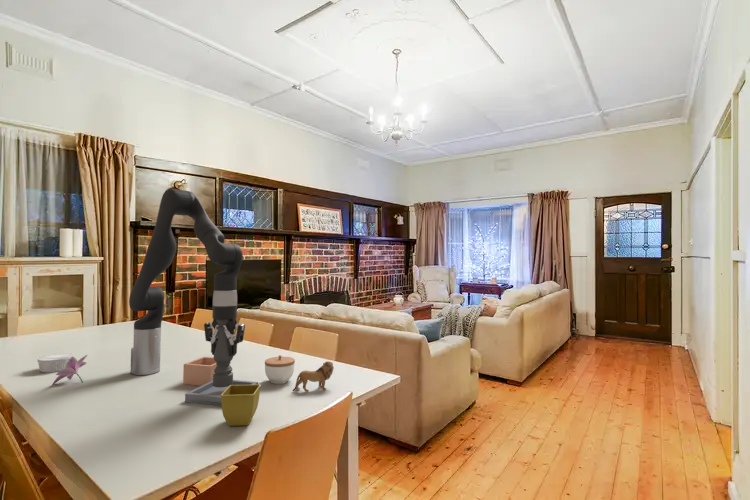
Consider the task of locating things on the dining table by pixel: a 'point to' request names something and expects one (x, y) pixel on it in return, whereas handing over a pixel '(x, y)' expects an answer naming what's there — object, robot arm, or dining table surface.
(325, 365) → the lion figurine
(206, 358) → the square copper bin
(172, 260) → the robot arm
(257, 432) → the dining table surface
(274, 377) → the lidded jar
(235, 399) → the flower pot
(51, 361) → the ramekin
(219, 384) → the candle holder
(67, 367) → the lily
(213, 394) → the tray
